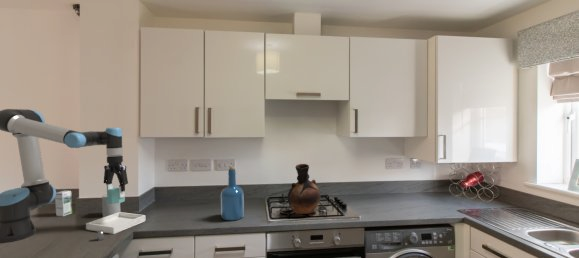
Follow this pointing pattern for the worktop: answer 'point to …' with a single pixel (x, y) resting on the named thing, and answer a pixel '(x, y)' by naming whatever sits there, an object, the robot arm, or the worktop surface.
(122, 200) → the teal faceted pot
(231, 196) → the wine bottle
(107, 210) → the grey cylinder
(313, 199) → the ceramic vessel
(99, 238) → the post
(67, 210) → the syrup box
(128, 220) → the tray
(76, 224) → the worktop surface
